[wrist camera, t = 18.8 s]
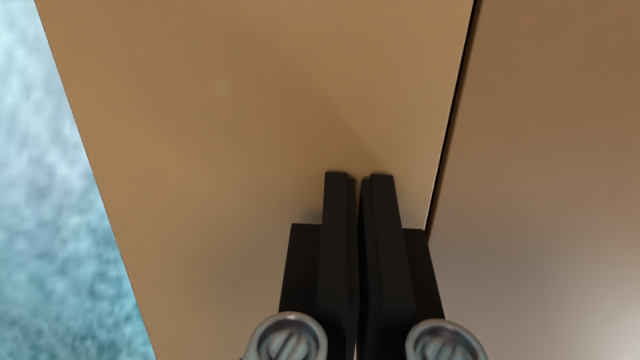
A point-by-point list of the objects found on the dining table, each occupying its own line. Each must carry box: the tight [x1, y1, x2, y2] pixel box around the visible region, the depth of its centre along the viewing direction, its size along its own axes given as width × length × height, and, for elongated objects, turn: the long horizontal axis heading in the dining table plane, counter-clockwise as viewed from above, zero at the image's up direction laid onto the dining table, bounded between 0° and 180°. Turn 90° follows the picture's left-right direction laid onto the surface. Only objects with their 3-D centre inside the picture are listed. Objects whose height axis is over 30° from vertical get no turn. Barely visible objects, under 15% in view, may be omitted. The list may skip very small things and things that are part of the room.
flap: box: [34, 0, 474, 360], centre depth 11 cm, size 8×15×1 cm, turn 179°
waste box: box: [424, 0, 640, 360], centre depth 16 cm, size 17×15×13 cm
